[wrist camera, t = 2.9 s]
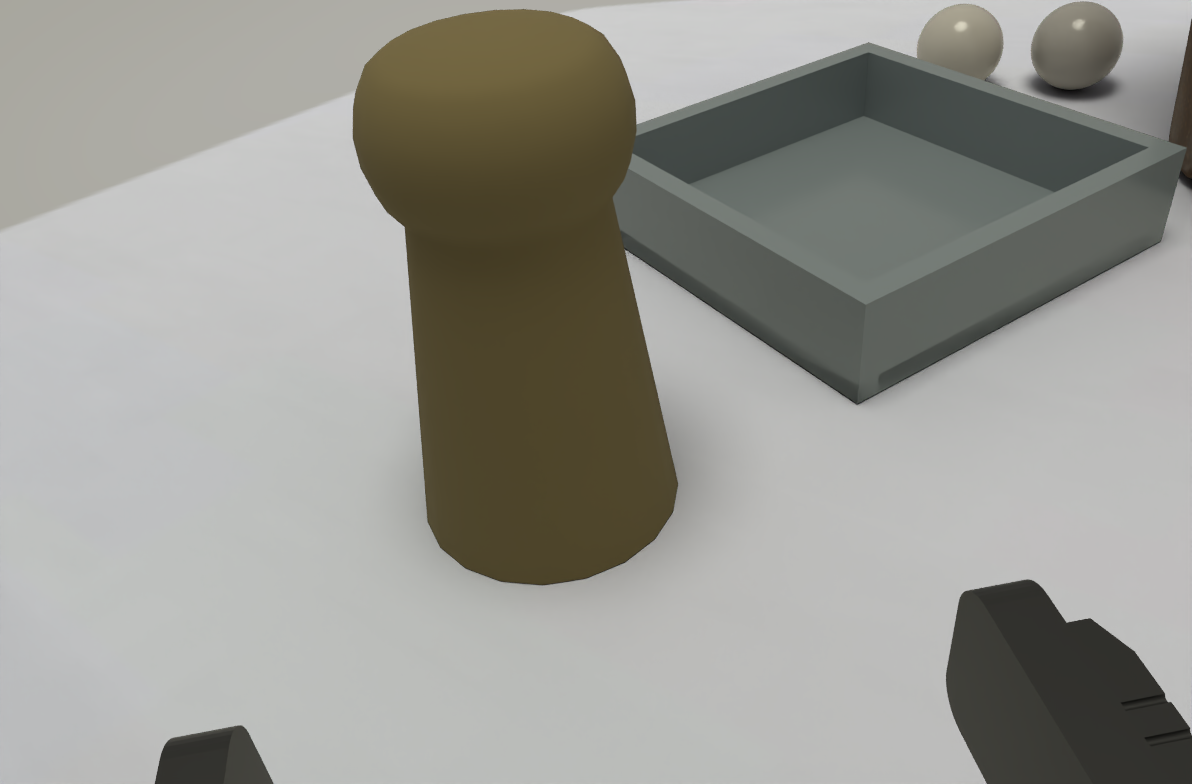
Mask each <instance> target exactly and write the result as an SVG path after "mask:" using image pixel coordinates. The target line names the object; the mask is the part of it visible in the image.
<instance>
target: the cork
mask: <svg viewBox="0 0 1192 784" xmlns="http://www.w3.org/2000/svg"><path fill="white" fill-rule="evenodd" d="M636 132H637V128H636V107H635V98H634V95H633V92H632V89H631V86H630V83H629V80H628V77H627V74H626V71H625V68H624V66H623V64H622V61H621V59H620V57H619V55H618V54H617V53H616V51H615V50H614V49H613V47H612V46H611V44H610V43H609V42H608V40H607V39H606V37H605V36H604V35H603V34H602V33H600V32H599V31H597V30H596V29H594V28H592V27H591V26H589V25H588V24H585V23H583V22H581V21H579V20H577V19H575V18H572V17H569V16H565V15H561V14H558V13H554V12H548V11H537V10H526V9H521V10H493V11H485V12H477V13H469V14H463V15H458V16H454V17H450V18H445V19H441V20H437V21H433V22H431V23H428V24H425V25H422V26H420V27H417V28H414V29H411V30H409V31H407V32H405V33H404V34H402V35H400V36H398V37H396V38H395V39H393V40H391V41H390V42H389V43H388V44H386V45H385V46H384V47H383V48H382V49H380V50H379V51H378V52H377V53H376V54H375V55H374V56H373V57H372V58H371V59H370V60H369V62H367V63H366V65H365V66H364V69H363V72H362V75H361V78H360V81H359V83H358V86H357V89H356V93H355V99H354V105H353V141H354V145H355V148H356V152H357V156H358V160H359V164H360V168H361V170H362V172H363V173H364V175H365V177H366V179H367V181H368V183H369V184H370V186H371V188H372V190H373V192H374V194H375V196H376V197H377V199H378V200H379V201H380V203H381V204H382V206H383V207H384V209H385V210H386V211H387V213H389V214H390V215H391V216H392V217H393V218H395V219H396V220H397V221H398V222H399V223H401V224H402V225H403V226H404V227H405V236H406V249H407V262H408V275H409V287H410V300H411V313H412V326H413V339H414V352H415V365H416V378H417V391H418V404H419V416H420V429H421V442H422V455H423V468H424V481H425V494H426V507H427V520H428V523H429V525H430V527H431V529H432V531H433V533H434V535H435V537H436V539H437V542H438V544H439V546H440V547H441V548H442V549H443V550H444V551H446V552H447V553H448V554H449V555H450V556H452V557H453V558H454V559H455V560H456V561H458V562H459V563H460V564H461V565H462V566H464V567H465V568H467V569H469V570H472V571H475V572H477V573H480V574H483V575H485V576H488V577H491V578H493V579H496V580H499V581H503V582H515V583H527V584H538V585H545V584H552V583H558V582H565V581H571V580H578V579H584V578H588V577H590V576H593V575H595V574H597V573H600V572H602V571H605V570H607V569H609V568H612V567H614V566H617V565H619V564H621V563H624V562H626V561H627V560H628V559H630V558H631V557H632V556H633V555H635V554H636V553H637V552H639V551H640V550H641V549H642V548H644V547H645V546H646V545H648V544H649V543H650V542H651V541H653V540H654V539H655V538H656V536H657V535H658V533H659V532H660V530H661V529H662V527H663V526H664V524H665V523H666V521H667V520H668V518H669V517H670V515H671V514H672V512H673V509H674V503H675V498H676V492H677V487H678V481H677V477H676V473H675V468H674V464H673V460H672V455H671V451H670V446H669V442H668V438H667V433H666V429H665V425H664V420H663V416H662V412H661V407H660V403H659V398H658V394H657V390H656V385H655V381H654V377H653V372H652V368H651V363H650V359H649V355H648V350H647V346H646V342H645V337H644V333H643V329H642V324H641V320H640V315H639V311H638V307H637V302H636V298H635V294H634V289H633V285H632V280H631V276H630V272H629V267H628V263H627V259H626V254H625V250H624V246H623V241H622V237H621V232H620V228H619V224H618V219H617V215H616V211H615V206H614V202H613V196H614V195H615V193H616V192H617V190H618V188H619V187H620V185H621V184H622V182H623V181H624V179H625V176H626V173H627V170H628V168H629V165H630V162H631V158H632V152H633V147H634V142H635V137H636Z"/></svg>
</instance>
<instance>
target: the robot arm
mask: <svg viewBox="0 0 1192 784" xmlns="http://www.w3.org/2000/svg"><path fill="white" fill-rule="evenodd" d="M946 685H947V693H948V698H949V703H950V707H951V710H952V713H953V716H954V719H955V721H956V724H957V726H958V728H959V730H960V732H961V734H962V736H963V738H964V740H965V742H966V744H967V746H968V748H969V750H970V752H971V754H972V756H973V758H974V760H975V762H976V763H977V765H978V767H979V769H980V771H981V773H982V775H983V777H984V779H985V781H986V783H987V784H1192V735H1191V733H1190V727H1189V726H1188V725H1187V723H1186V722H1185V720H1184V719H1183V718H1182V716H1181V715H1180V714H1179V712H1178V711H1177V709H1176V708H1175V707H1174V705H1173V704H1172V703H1171V702H1167V700H1166V698H1165V693H1164V692H1163V690H1162V689H1161V687H1160V686H1159V685H1158V683H1157V682H1156V680H1155V679H1154V678H1153V676H1152V675H1151V674H1150V672H1149V671H1148V669H1147V668H1146V667H1145V665H1144V664H1143V663H1142V661H1141V660H1140V658H1139V657H1138V656H1137V654H1136V653H1135V652H1134V651H1133V650H1132V649H1130V648H1129V647H1128V646H1126V645H1125V644H1124V643H1122V642H1121V641H1120V640H1118V639H1117V638H1116V637H1114V636H1113V635H1112V634H1110V633H1109V632H1108V631H1106V630H1105V629H1104V628H1102V627H1101V626H1100V625H1098V624H1097V623H1096V622H1094V621H1093V620H1092V619H1090V618H1089V619H1084V620H1078V621H1073V622H1068V623H1066V621H1065V620H1064V619H1063V617H1062V616H1061V614H1060V613H1059V611H1058V610H1057V608H1056V607H1055V605H1054V604H1053V602H1052V601H1051V599H1050V598H1049V596H1048V595H1047V594H1046V592H1045V591H1044V590H1043V588H1042V587H1041V586H1040V585H1039V584H1037V583H1036V582H1034V581H1032V580H1022V581H1016V582H1011V583H1006V584H1001V585H995V586H990V587H985V588H979V589H974V590H969V591H965V592H964V593H963V594H962V595H961V597H960V600H959V604H958V610H957V615H956V621H955V627H954V632H953V638H952V644H951V649H950V655H949V661H948V666H947V673H946ZM155 784H273V782H272V779H271V777H270V775H269V773H268V771H267V769H266V767H265V765H264V763H263V761H262V759H261V757H260V755H259V753H258V751H257V749H256V747H255V745H254V743H253V741H252V739H251V737H250V735H249V733H248V732H247V730H246V729H245V728H244V727H243V726H234V727H228V728H223V729H218V730H213V731H207V732H202V733H197V734H191V735H186V736H181V737H175V738H172V739H170V740H168V742H167V743H166V744H165V746H164V748H163V751H162V753H161V757H160V761H159V766H158V771H157V776H156V781H155Z"/></svg>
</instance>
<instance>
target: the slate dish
mask: <svg viewBox="0 0 1192 784" xmlns="http://www.w3.org/2000/svg"><path fill="white" fill-rule="evenodd" d="M636 128H637V132H636V137H635V142H634V147H633V152H632V158H631V162H630V165H629V168H628V170H627V173H626V176H625V179H624V181H623V182H622V184H621V185H620V187H619V188H618V190H617V192H616V193H615V195H614V196H613V202H614V206H615V211H616V215H617V219H618V224H619V228H620V232H621V237H622V241H623V246H624V248H626V249H627V250H628V251H630V252H631V253H633V254H634V255H636V256H637V257H639V258H640V259H642V260H643V261H645V262H646V263H648V264H649V265H651V266H652V267H654V268H655V269H657V270H658V271H660V272H661V273H663V274H664V275H666V276H667V277H669V278H670V279H672V280H673V281H675V282H676V283H678V284H679V285H681V286H682V287H684V288H685V289H687V290H688V291H690V292H691V293H693V294H694V295H696V296H697V297H699V298H700V299H702V300H703V301H705V302H706V303H708V304H709V305H711V306H712V307H714V308H715V309H716V310H718V311H719V312H721V313H722V314H724V315H725V316H727V317H728V318H730V319H731V320H733V321H734V322H736V323H737V324H739V325H740V326H742V327H743V328H745V329H746V330H748V331H749V332H751V333H752V334H754V335H755V336H757V337H758V338H760V339H761V340H763V341H764V342H766V343H767V344H769V345H770V346H772V347H773V348H775V349H776V350H778V351H779V352H781V353H782V354H784V355H785V356H787V357H788V358H790V359H791V360H793V361H794V362H796V363H797V364H799V365H800V366H802V367H803V368H804V369H806V370H807V371H809V372H810V373H812V374H813V375H815V376H816V377H818V378H819V379H821V380H822V381H824V382H825V383H827V384H828V385H830V386H831V387H833V388H834V389H836V390H837V391H839V392H840V393H842V394H843V395H845V396H846V397H848V398H849V399H851V400H852V401H854V402H855V403H857V404H858V403H860V402H862V401H864V400H866V399H867V398H869V397H871V396H873V395H875V394H877V393H879V392H880V391H882V390H884V389H886V388H888V387H890V386H892V385H893V384H895V383H897V382H899V381H901V380H903V379H905V378H907V377H908V376H910V375H912V374H914V373H916V372H918V371H920V370H921V369H923V368H925V367H927V366H929V365H931V364H933V363H934V362H936V361H938V360H940V359H942V358H944V357H946V356H947V355H949V354H951V353H953V352H955V351H957V350H959V349H961V348H962V347H964V346H966V345H968V344H970V343H972V342H974V341H975V340H977V339H979V338H981V337H983V336H985V335H987V334H988V333H990V332H992V331H994V330H996V329H998V328H1000V327H1001V326H1003V325H1005V324H1007V323H1009V322H1011V321H1013V320H1015V319H1016V318H1018V317H1020V316H1022V315H1024V314H1026V313H1028V312H1029V311H1031V310H1033V309H1035V308H1037V307H1039V306H1041V305H1042V304H1044V303H1046V302H1048V301H1050V300H1052V299H1054V298H1055V297H1057V296H1059V295H1061V294H1063V293H1065V292H1067V291H1069V290H1070V289H1072V288H1074V287H1076V286H1078V285H1080V284H1082V283H1083V282H1085V281H1087V280H1089V279H1091V278H1093V277H1095V276H1096V275H1098V274H1100V273H1102V272H1104V271H1106V270H1108V269H1109V268H1111V267H1113V266H1115V265H1117V264H1119V263H1121V262H1122V261H1124V260H1126V259H1128V258H1130V257H1132V256H1134V255H1136V254H1137V253H1139V252H1141V251H1143V250H1145V249H1147V248H1149V247H1150V246H1152V245H1154V244H1156V243H1158V242H1160V241H1161V239H1162V235H1163V232H1164V228H1165V225H1166V221H1167V217H1168V214H1169V210H1170V207H1171V203H1172V200H1173V196H1174V192H1175V189H1176V185H1177V182H1178V178H1179V175H1180V171H1181V167H1182V164H1183V160H1184V157H1185V153H1186V150H1187V148H1186V147H1183V146H1180V145H1177V144H1174V143H1171V142H1168V141H1165V140H1162V139H1159V138H1156V137H1153V136H1150V135H1147V134H1144V133H1141V132H1138V131H1135V130H1132V129H1129V128H1126V127H1123V126H1120V125H1117V124H1114V123H1111V122H1107V121H1104V120H1101V119H1098V118H1095V117H1092V116H1089V115H1086V114H1083V113H1080V112H1077V111H1074V110H1071V109H1068V108H1065V107H1062V106H1059V105H1056V104H1053V103H1050V102H1047V101H1044V100H1041V99H1038V98H1035V97H1032V96H1029V95H1026V94H1023V93H1020V92H1017V91H1014V90H1011V89H1008V88H1005V87H1002V86H999V85H996V84H993V83H990V82H987V81H984V80H981V79H978V78H975V77H972V76H969V75H966V74H963V73H960V72H957V71H954V70H950V69H947V68H944V67H941V66H938V65H935V64H932V63H929V62H926V61H923V60H920V59H917V58H914V57H911V56H908V55H905V54H902V53H899V52H896V51H893V50H890V49H887V48H884V47H881V46H878V45H875V44H872V43H869V42H868V43H866V44H863V45H860V46H857V47H854V48H852V49H849V50H846V51H843V52H840V53H837V54H835V55H832V56H829V57H826V58H823V59H821V60H818V61H815V62H812V63H809V64H806V65H804V66H801V67H798V68H795V69H792V70H790V71H787V72H784V73H781V74H778V75H775V76H773V77H770V78H767V79H764V80H761V81H759V82H756V83H753V84H750V85H747V86H744V87H742V88H739V89H736V90H733V91H730V92H728V93H725V94H722V95H719V96H716V97H713V98H711V99H708V100H705V101H702V102H699V103H697V104H694V105H691V106H688V107H685V108H682V109H680V110H677V111H674V112H671V113H668V114H666V115H663V116H660V117H657V118H654V119H651V120H649V121H646V122H643V123H640V124H637V125H636Z"/></svg>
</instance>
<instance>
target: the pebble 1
mask: <svg viewBox="0 0 1192 784" xmlns="http://www.w3.org/2000/svg"><path fill="white" fill-rule="evenodd" d="M1003 45H1004V42H1003V33H1002V30H1001V27H1000V25H999V23H998V21H997V20H996V19H995V17H994V16H993V15H992V14H991V13H990V12H988V11H987V10H985V9H984V8H981V7H979V6H976V5H971V4H958V5H953V6H950V7H947V8H945V9H943V10H941V11H940V12H938V13H937V14H935V15H934V16H933V17H932V18H931V19H930V20H929V21H928V22H927V24H926V25H925V27H924V28H923V30H922V32H921V34H920V36H919V40H918V44H917V59H920V60H923V61H926V62H929V63H932V64H935V65H938V66H941V67H944V68H947V69H950V70H954V71H957V72H960V73H963V74H966V75H969V76H972V77H975V78H978V79H981V80H985V79H986V78H988V77H989V76H990V75H991V73H992V72H993V71H994V70H995V68H996V67H997V65H998V63H999V61H1000V58H1001V56H1002V52H1003Z"/></svg>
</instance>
